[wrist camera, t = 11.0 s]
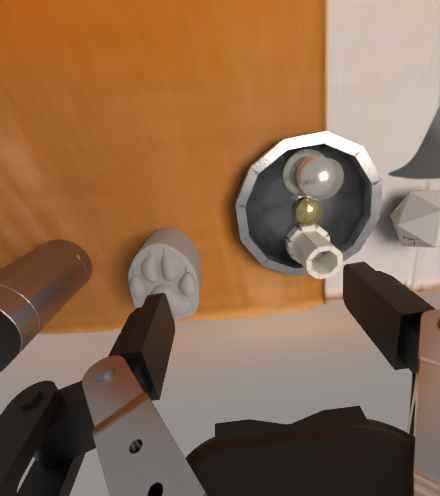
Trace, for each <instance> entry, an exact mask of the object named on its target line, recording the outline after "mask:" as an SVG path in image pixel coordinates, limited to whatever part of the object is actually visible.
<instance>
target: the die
mask: <svg viewBox="0 0 440 496" xmlns="http://www.w3.org/2000/svg"><path fill="white" fill-rule="evenodd" d="M390 217H391V220H392V222H393V225H394V227H395V230H396V232H397V235H398V237H399V240H400V242H401V245H402V246H416V247H440V190H432V191H411V192H410V193H409V194H408V195H407V196H406V197H405V198H404V200H403V201H402V202H401V203H400V204H399V205H398V206H397V207H396V208H395V210H394V211H393V212H392V213H391V214H390Z"/></svg>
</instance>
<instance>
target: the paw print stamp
mask: <svg viewBox="0 0 440 496" xmlns="http://www.w3.org/2000/svg"><path fill="white" fill-rule="evenodd" d="M201 281H202V267H201V259H200V254H199V251H198V250H197V248H196V246H195V245H194V244H193V242H192V241H191V240H190V239H189V238H188V237H187V236H186V235H185V234H183V233H182V232H180V231H178V230H176V229H174V228H161V229H159V230H157V231H155V232H154V233H153V234H152V235H151V236H150V237H149V238H148V239H147V241H146V242H145V243H144V245H143V246H142V247H141V249H140V250H139V251H138V253H137V254H136V256H135V257H134V259H133V261H132V264H131V266H130V269H129V272H128V282H129V289H130V293H131V297H132V300H133V303H134V306H135V308H138V307H142V306H143V303H144V301H145V299H146V297H147V296H148V295H151V294H158V293H165V294H166V296H167V299H168V302H169V306H170V309H171V312H172V316H173V318H178V319H185V318H189V317H191V316H192V315H193V314H194V313H195V312H196V310H197V308H198V305H199V297H200V289H201Z"/></svg>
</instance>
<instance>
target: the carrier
mask: <svg viewBox="0 0 440 496" xmlns="http://www.w3.org/2000/svg"><path fill="white" fill-rule="evenodd" d="M381 195H382V178H381V176H380V175H379V173H378V171H377V170H376V168H375V166H374V164H373V163H372V161H371V159H370V157H369V156H368V154H367V152H366V150H365V149H364V147H362V146H360V145H358V144H355V143H353V142H351V141H348V140H346V139H344V138H341V137H339V136H337V135H334V134H332V133H330V132H327V131H325V132H318V133H312V134H307V135H302V136H296V137H291V138H286V139H281V140H279V141H278V142H277V143H276V144H275V145H273V146H272V147H270V148H269V149H267V150H266V151H265V152H263V153H262V154H261V155H260V156H259V157H258V158H257V159H256V160H255V161H254V162H253V163H252V164H251V165H250V166H249V167H248V169H247V172H246V174H245V176H244V178H243V180H242V182H241V184H240V188H239V191H238V195H237V197H236V200H235V209H236V216H237V222H238V228H239V235H240V240H241V242H242V243H243V244H244V245H245V247H246V248H247V249H248V250H249V251H250V252H251V253H252V255H253V256H254V257H255V258H256V259H257V260H258V262H259V263H260V264H261V265H262V266H264V267H267V268H270V269H273V270H276V271H279V272H282V273H285V274H288V275H291V276H301V275H307V274H309V273H308V272H307V271H306V269H305V268H304V267H303V265H302V264H300V263H298V262H297V261H295V260H294V259H292V258H291V257H290V255H289V254H288V252H287V250H286V239H289V238H288V237H287V235H288V234H289V232H290V231H291V230H292V229H293V228H294V226H296V227H297V228H298V229H299V226H298V224H301V223H302V224H304V225H312V224H315V223H316V224H317V225H318V226H320V227H321V228H323V229H324V230H325V231H326V232H328V235H329V236H330V242H331V243H332V244H333V245H334V246H335V247H336V248H337V249H338V250H340V251H341V252H342V254H343V261H345V260H346V259H348V258H349V257H351V256H352V255H354V254H355V253H357V252H358V251H359V250H360V249H361V248H362V246H363V244H364V243H365V241H366V240H367V238H368V236H369V235H370V233H371V232H372V230H373V228H374V227H375V225H376V224H377V222H378V220H379V219H380V210H381ZM322 255H323V252H319V253H318V254H317V255H316V256H315V257H314V258H313V259H319V258H321V257H322Z"/></svg>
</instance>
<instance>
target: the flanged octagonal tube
mask: <svg viewBox="0 0 440 496" xmlns="http://www.w3.org/2000/svg"><path fill="white" fill-rule="evenodd" d="M298 226H299V229H298V228H297V227H296V226H294V228H293V229H292V230H291V231H290V232H289V234H288V235H287V237H288V238H289V239H286V250H287V252H288V254H289V255H290V257H291V258H292V259H294V260H295V261H297V262H298V263H300V264H302V265H303V267H304V268H305V269H306V271H307V272H308V273H309V274H310V275H312V276H313V277H315V278H316V279H317V278H318V279H324V278H330V277H331V275H332V276H334V275H335V274H336V273H337V272H338V271H339V270H340V269H341V268H342V267H341V266H343V254H342V252H341V251H340V250H338V249H337V248H336V247H335V246H334V245H333V244H332V243H331V242H330V236H329V235H328V232H326V231H325V230H324V229H323V228H321V227H320V226H318V225H317V224H316V223H315V224H312V225H304V224H302V223H301V224H298ZM319 252H323V255H322V257H321V258H319V259H313V258H314V257H315V256H316V255H317V254H318V253H319Z"/></svg>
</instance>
